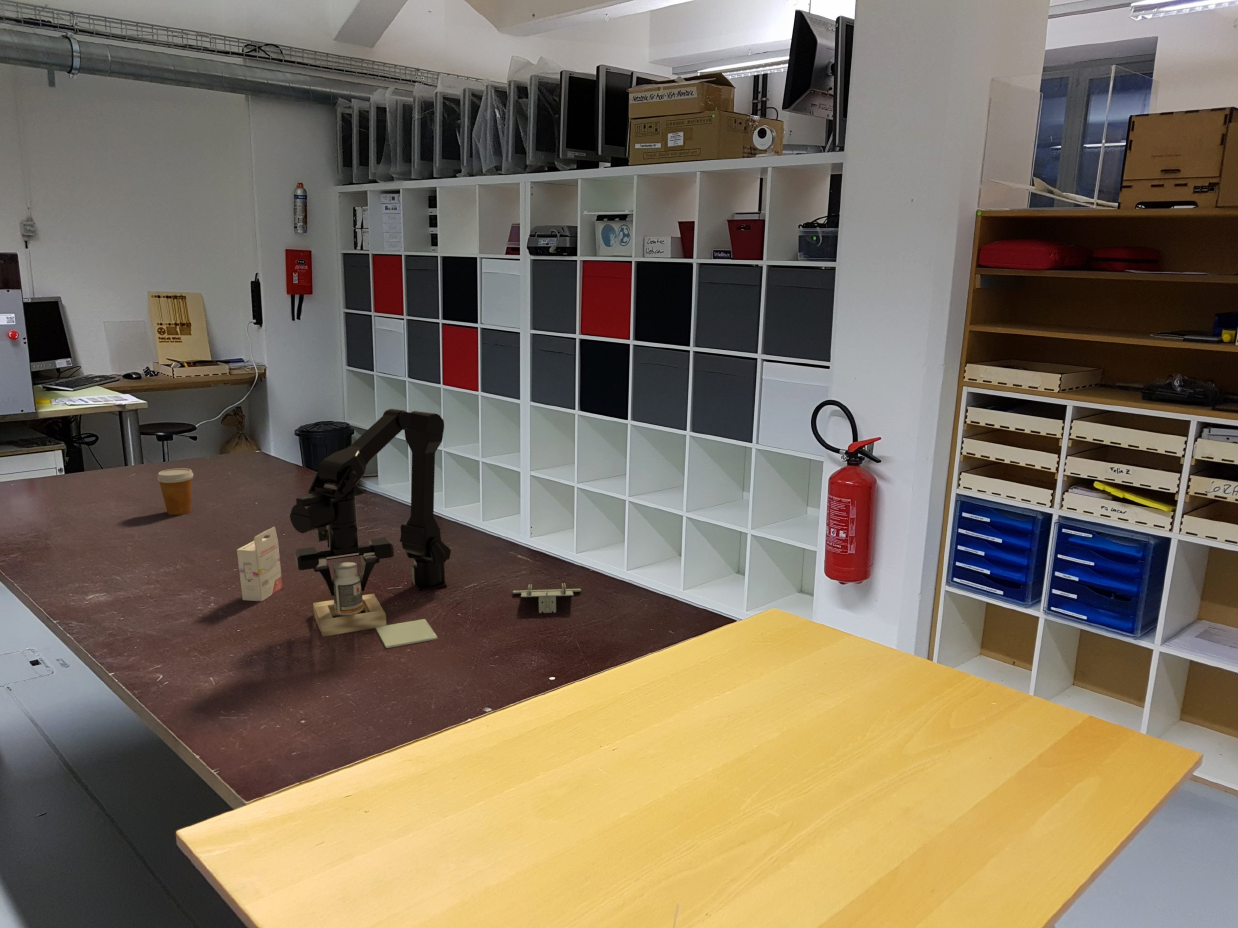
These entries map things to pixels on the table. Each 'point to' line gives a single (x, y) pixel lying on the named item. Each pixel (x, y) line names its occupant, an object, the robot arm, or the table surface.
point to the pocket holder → (349, 617)
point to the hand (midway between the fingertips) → (347, 592)
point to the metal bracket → (547, 597)
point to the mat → (406, 633)
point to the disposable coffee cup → (176, 490)
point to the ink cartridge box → (260, 567)
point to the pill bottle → (347, 589)
